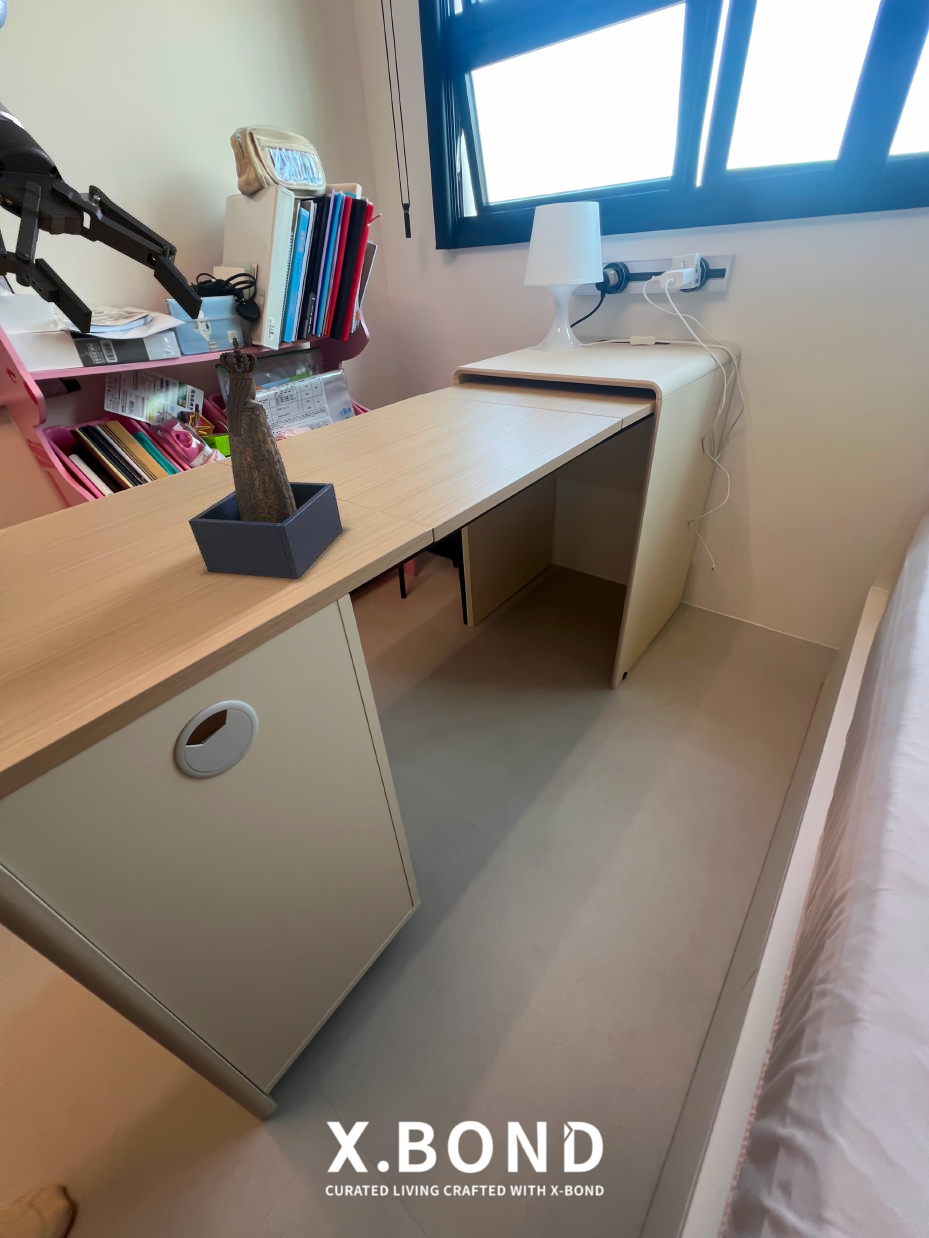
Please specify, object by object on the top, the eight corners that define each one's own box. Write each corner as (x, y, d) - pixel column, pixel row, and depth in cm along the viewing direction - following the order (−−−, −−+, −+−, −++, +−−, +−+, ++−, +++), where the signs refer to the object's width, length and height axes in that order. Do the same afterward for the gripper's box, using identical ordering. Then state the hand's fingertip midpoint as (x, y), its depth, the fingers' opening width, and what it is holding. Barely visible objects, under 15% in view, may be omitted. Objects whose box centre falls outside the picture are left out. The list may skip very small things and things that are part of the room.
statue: (316, 537, 71) (269, 334, 56) (299, 564, 65) (241, 343, 50) (257, 538, 71) (195, 337, 57) (234, 564, 65) (158, 346, 51)
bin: (207, 571, 64) (187, 520, 60) (263, 526, 75) (250, 480, 71) (298, 579, 61) (284, 526, 57) (342, 530, 72) (333, 483, 68)
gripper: (107, 195, 65) (225, 329, 68) (-147, 178, 48) (28, 360, 50) (114, 133, 60) (242, 281, 63) (-168, 88, 42) (28, 296, 45)
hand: (147, 316), depth 57 cm, fingers open, 13 cm apart
